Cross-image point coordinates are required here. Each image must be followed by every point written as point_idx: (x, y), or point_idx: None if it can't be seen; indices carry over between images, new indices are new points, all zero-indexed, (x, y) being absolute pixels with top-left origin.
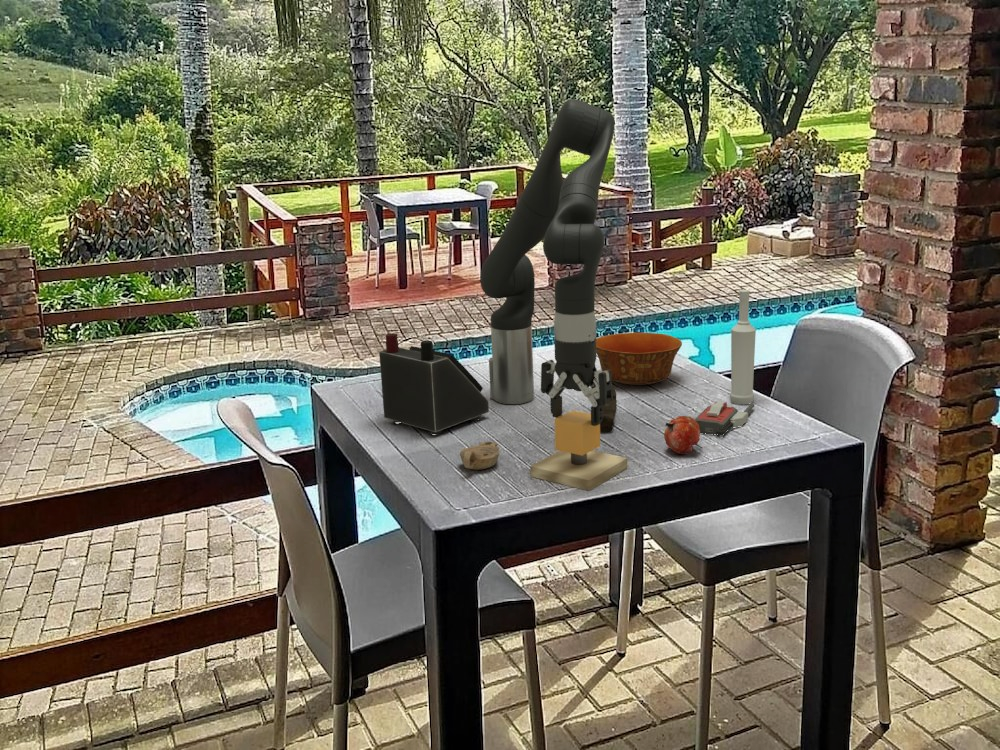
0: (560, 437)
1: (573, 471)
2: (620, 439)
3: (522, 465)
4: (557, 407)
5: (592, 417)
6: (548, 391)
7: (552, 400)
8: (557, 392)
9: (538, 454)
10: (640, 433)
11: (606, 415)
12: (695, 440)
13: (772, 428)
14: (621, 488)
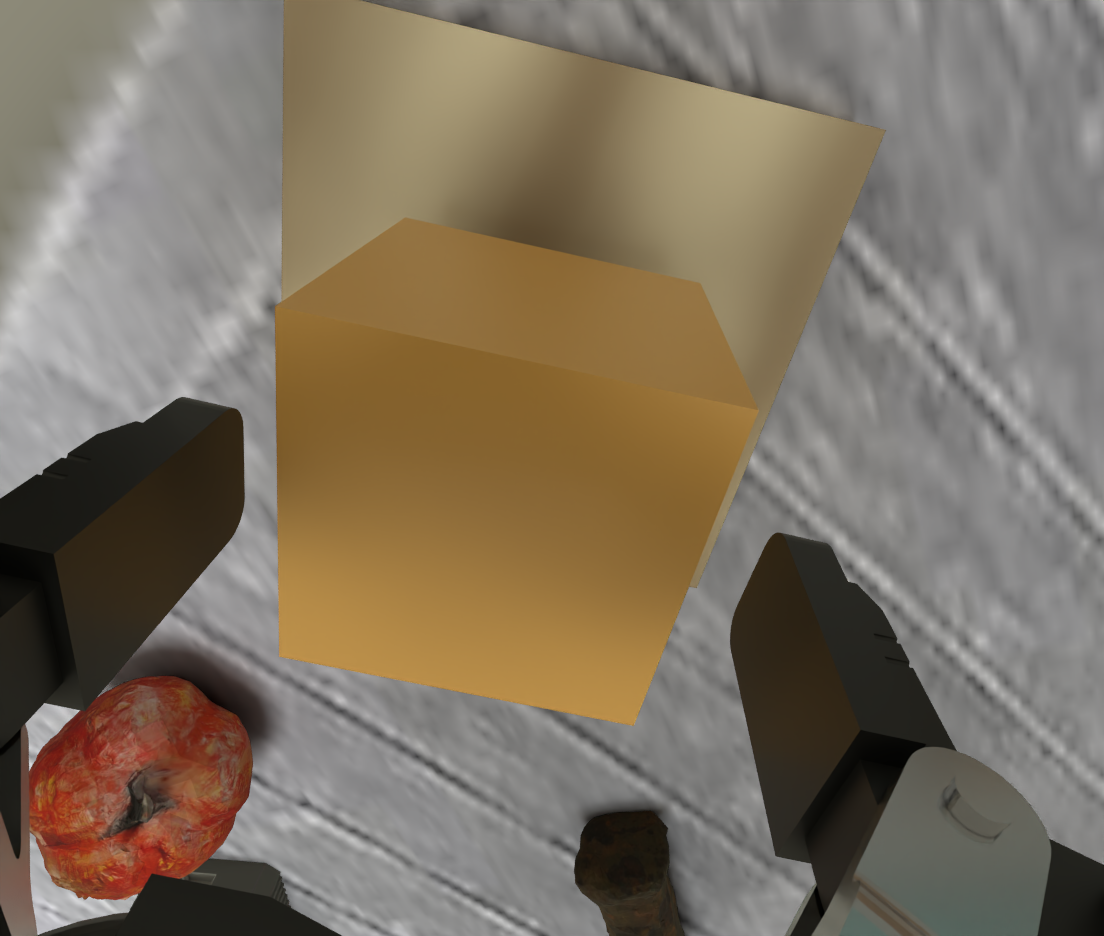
0: (647, 306)
1: (492, 142)
2: (516, 767)
3: (959, 317)
4: (790, 648)
5: (144, 445)
6: (1076, 907)
7: (907, 714)
8: (852, 866)
9: (884, 515)
10: (463, 830)
11: (611, 904)
12: (50, 740)
13: (57, 926)
14: (154, 140)
